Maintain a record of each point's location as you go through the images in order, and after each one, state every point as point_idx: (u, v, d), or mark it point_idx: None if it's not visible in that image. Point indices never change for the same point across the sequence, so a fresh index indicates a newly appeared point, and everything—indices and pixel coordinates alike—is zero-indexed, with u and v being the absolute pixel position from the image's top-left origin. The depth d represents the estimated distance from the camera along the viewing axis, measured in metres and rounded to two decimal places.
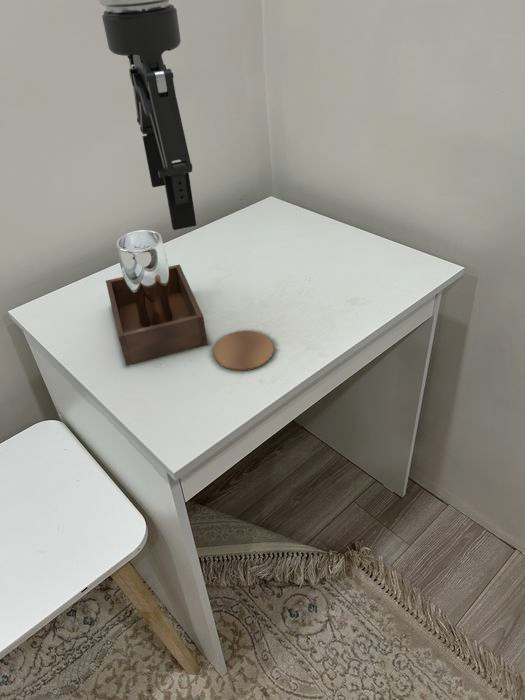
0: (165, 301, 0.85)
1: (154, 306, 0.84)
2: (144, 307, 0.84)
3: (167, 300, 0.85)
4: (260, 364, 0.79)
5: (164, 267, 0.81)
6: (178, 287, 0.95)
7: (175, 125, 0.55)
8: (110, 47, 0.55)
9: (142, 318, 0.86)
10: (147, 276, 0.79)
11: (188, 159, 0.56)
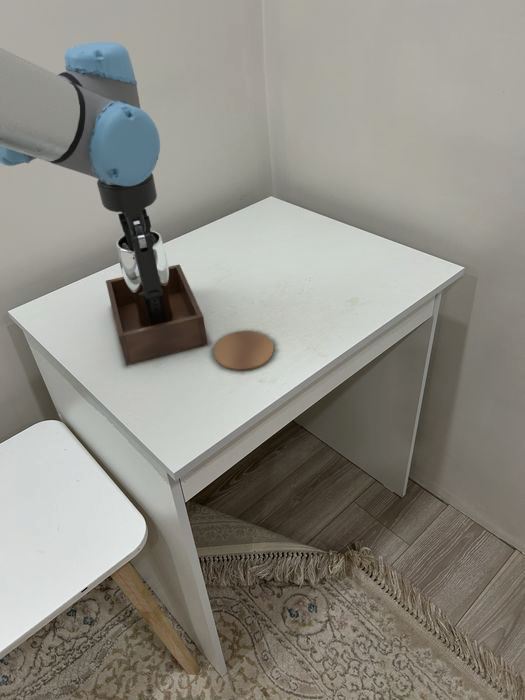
0: (165, 301, 0.85)
1: None
2: (144, 307, 0.84)
3: (167, 300, 0.85)
4: (260, 364, 0.79)
5: (164, 267, 0.81)
6: (178, 287, 0.95)
7: (152, 269, 0.76)
8: (103, 204, 0.74)
9: (142, 318, 0.86)
10: None
11: (160, 289, 0.78)
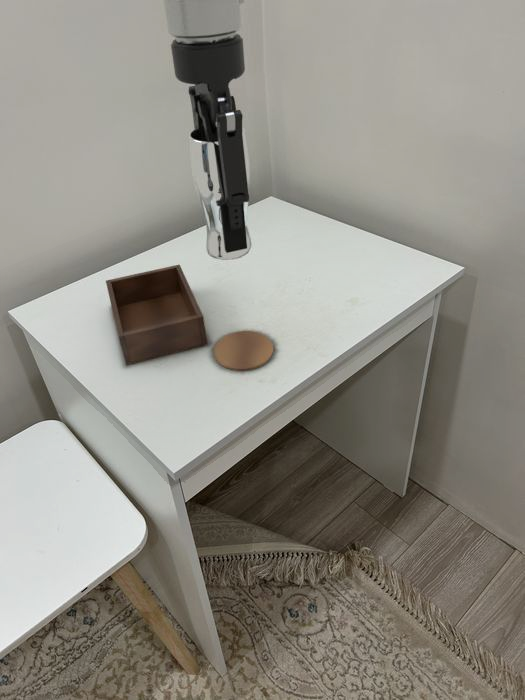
0: None
1: None
2: (218, 223, 0.67)
3: (246, 216, 0.68)
4: (260, 364, 0.79)
5: (247, 168, 0.64)
6: (178, 287, 0.95)
7: (239, 162, 0.59)
8: (178, 76, 0.57)
9: (214, 239, 0.69)
10: None
11: (247, 192, 0.61)
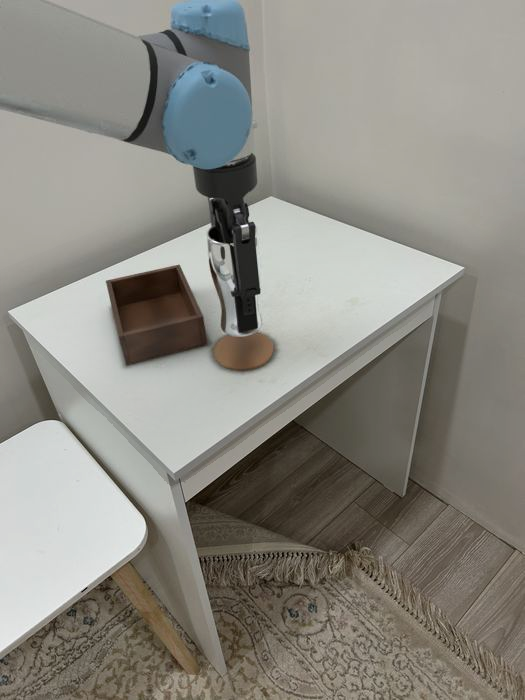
0: None
1: None
2: (232, 307, 0.74)
3: (257, 299, 0.76)
4: (260, 364, 0.79)
5: (258, 262, 0.71)
6: (178, 287, 0.95)
7: (252, 263, 0.66)
8: (198, 190, 0.64)
9: (228, 319, 0.76)
10: None
11: (258, 287, 0.68)
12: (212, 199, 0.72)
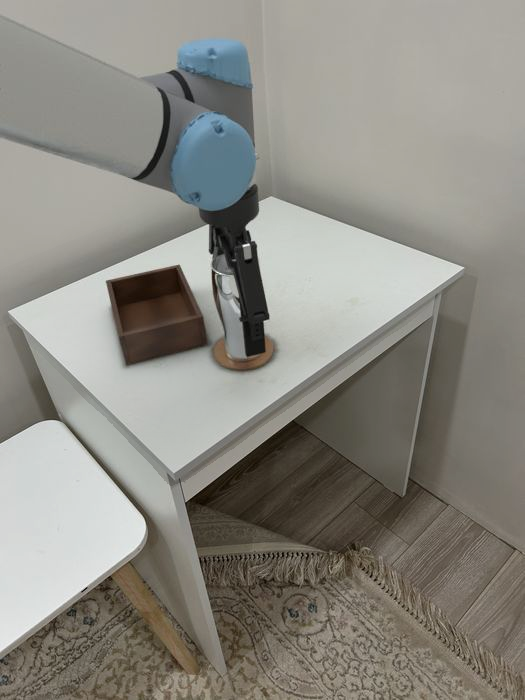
0: None
1: None
2: (235, 333, 0.77)
3: None
4: (260, 364, 0.79)
5: None
6: (178, 287, 0.95)
7: (257, 285, 0.66)
8: (202, 218, 0.67)
9: (231, 345, 0.79)
10: None
11: (267, 311, 0.67)
12: None
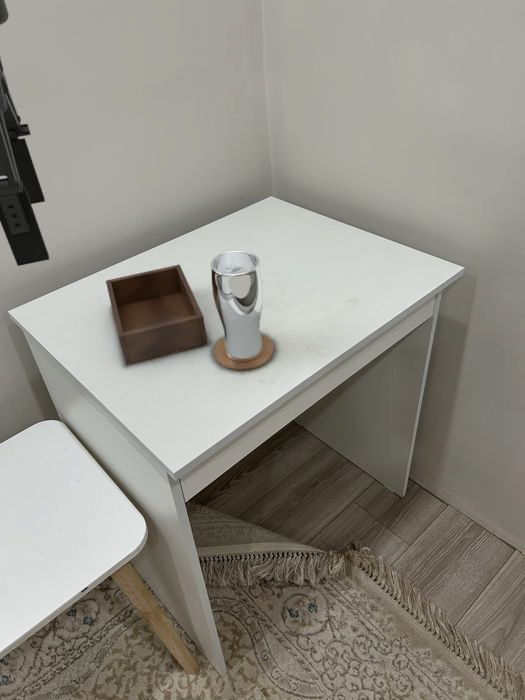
0: (257, 327, 0.78)
1: (245, 332, 0.77)
2: (235, 333, 0.77)
3: (258, 325, 0.79)
4: (260, 364, 0.79)
5: (260, 291, 0.74)
6: (178, 287, 0.95)
7: None
8: None
9: (231, 345, 0.79)
10: (244, 301, 0.73)
11: (11, 176, 0.41)
12: None
